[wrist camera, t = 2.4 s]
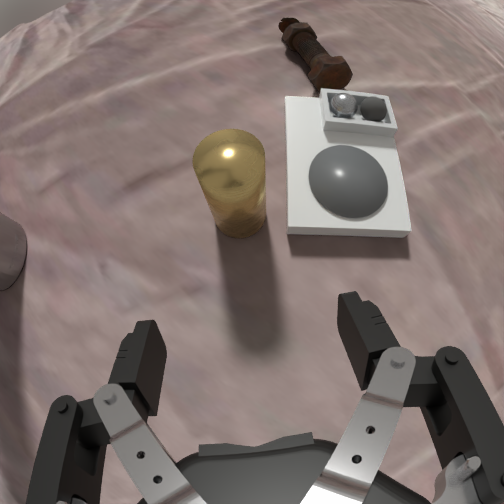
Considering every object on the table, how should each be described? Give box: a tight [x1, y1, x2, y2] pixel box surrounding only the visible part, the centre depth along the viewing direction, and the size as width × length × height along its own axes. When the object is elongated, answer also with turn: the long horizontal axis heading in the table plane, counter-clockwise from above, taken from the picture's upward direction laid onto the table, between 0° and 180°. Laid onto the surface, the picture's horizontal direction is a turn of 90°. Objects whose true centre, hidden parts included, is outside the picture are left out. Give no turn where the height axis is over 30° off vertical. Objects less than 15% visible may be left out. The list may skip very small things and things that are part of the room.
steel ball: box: [330, 93, 358, 119], centre depth 30 cm, size 3×3×3 cm
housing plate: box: [284, 88, 411, 238], centre depth 30 cm, size 12×16×4 cm
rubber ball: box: [360, 96, 387, 122], centre depth 29 cm, size 3×3×3 cm
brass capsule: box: [193, 129, 266, 238], centre depth 26 cm, size 5×5×10 cm
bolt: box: [279, 18, 353, 93], centre depth 35 cm, size 6×5×15 cm
